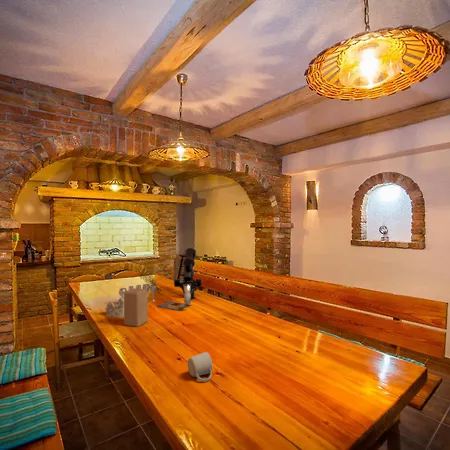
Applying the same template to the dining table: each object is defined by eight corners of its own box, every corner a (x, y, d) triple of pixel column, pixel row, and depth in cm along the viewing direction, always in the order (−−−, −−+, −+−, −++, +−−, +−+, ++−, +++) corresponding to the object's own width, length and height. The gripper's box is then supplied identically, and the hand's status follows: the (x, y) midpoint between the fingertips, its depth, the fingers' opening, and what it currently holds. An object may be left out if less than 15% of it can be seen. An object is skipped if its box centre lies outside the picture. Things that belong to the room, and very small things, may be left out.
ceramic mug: (186, 372, 116) (186, 353, 116) (204, 367, 120) (204, 348, 120) (197, 385, 107) (197, 365, 107) (216, 379, 111) (217, 359, 111)
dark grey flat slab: (170, 301, 220) (170, 298, 220) (190, 305, 209) (190, 301, 209) (156, 306, 208) (156, 302, 208) (177, 310, 198) (177, 306, 198)
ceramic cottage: (138, 311, 197) (136, 289, 197) (120, 319, 182) (118, 295, 182) (120, 310, 203) (119, 288, 203) (102, 318, 188) (100, 295, 188)
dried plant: (176, 274, 237) (152, 248, 268) (140, 283, 218) (119, 254, 248) (172, 304, 249) (149, 276, 279) (137, 315, 229) (117, 283, 260)
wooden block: (148, 321, 176) (147, 289, 176) (138, 327, 167) (137, 292, 166) (134, 320, 179) (133, 287, 179) (123, 325, 170) (123, 291, 170)
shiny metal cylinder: (187, 301, 200) (186, 282, 200) (192, 302, 198) (192, 283, 197) (182, 303, 196) (182, 283, 196) (188, 304, 194) (187, 284, 194)
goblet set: (155, 299, 228) (154, 282, 228) (157, 301, 223) (157, 283, 223) (118, 305, 213) (117, 287, 213) (119, 306, 208) (119, 288, 208)
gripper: (174, 267, 200) (172, 287, 189) (201, 267, 201) (200, 286, 190) (175, 276, 208) (173, 296, 197) (201, 276, 209) (201, 295, 198)
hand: (187, 293), depth 195 cm, fingers closed on shiny metal cylinder, 4 cm apart
